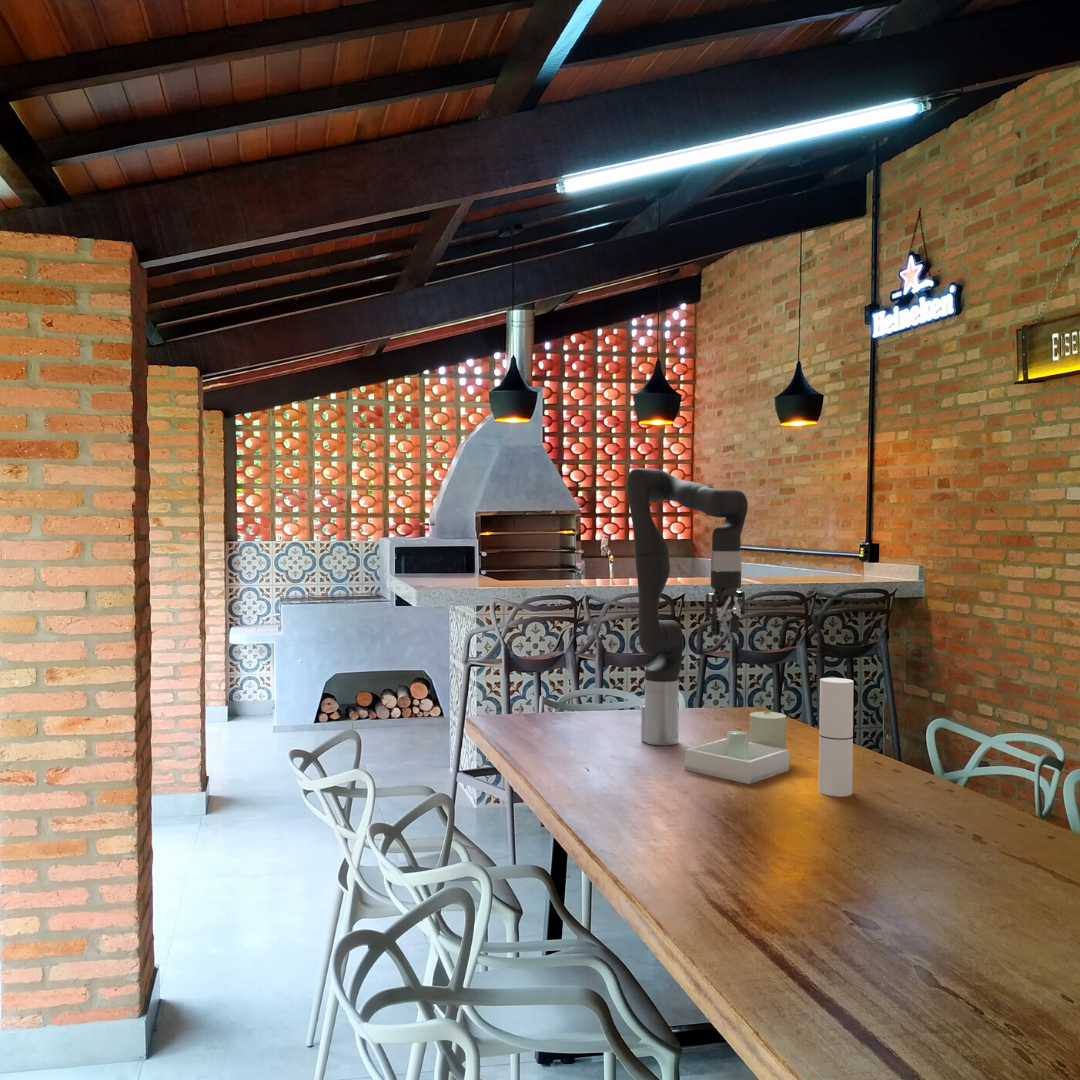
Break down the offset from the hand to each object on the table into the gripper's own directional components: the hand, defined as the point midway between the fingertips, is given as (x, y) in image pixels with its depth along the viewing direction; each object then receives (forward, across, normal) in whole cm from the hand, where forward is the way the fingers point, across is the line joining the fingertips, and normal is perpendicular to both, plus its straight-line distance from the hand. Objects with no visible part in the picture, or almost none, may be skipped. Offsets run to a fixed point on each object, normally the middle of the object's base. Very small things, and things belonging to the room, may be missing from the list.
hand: (725, 633), depth 242 cm
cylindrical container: (+32, +6, +33) cm, 47 cm away
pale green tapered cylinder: (+31, +5, +7) cm, 32 cm away
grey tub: (+32, +5, +7) cm, 33 cm away
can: (+32, -9, +7) cm, 34 cm away
